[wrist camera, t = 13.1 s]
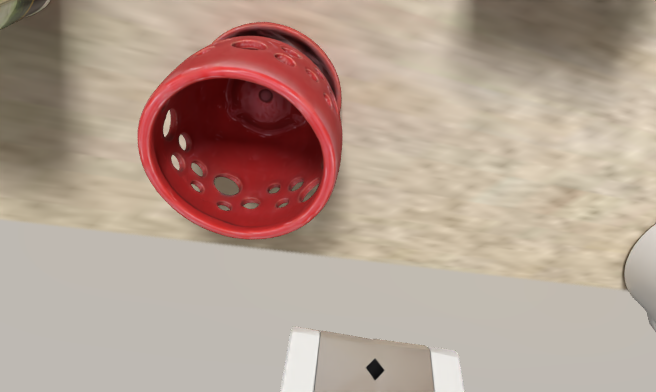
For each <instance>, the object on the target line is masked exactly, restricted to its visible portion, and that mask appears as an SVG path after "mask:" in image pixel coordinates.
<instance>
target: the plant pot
mask: <svg viewBox="0 0 656 392" xmlns="http://www.w3.org/2000/svg"><path fill="white" fill-rule="evenodd" d="M340 109H341V87H340V82H339V78H338V75H337V73H336V70H335V68H334V66H333V64H332V63H331V61H330V59H329V58H328V57H327V55H326V54H325V53H324V51H323V50H322V49H321V48H320V47H319V46H318V45H317V44H316V43H315V42H314V41H312V40H311V39H310V38H308V37H307V36H305V35H304V34H302V33H301V32H299V31H297V30H295V29H292V28H290V27H287V26H284V25H280V24H276V23H269V22H257V23H249V24H245V25H241V26H238V27H235V28H233V29H231V30H229V31H227V32H225V33H224V34H222V35H221V36H220V37H218V38H217V39H216V40H215V41H214V42H213V43H212V44H211V45H209V46H207V47H205V48H203V49H201V50H200V51H198V52H196V53H195V54H193V55H192V56H190V57H189V58H187V59H186V60H185V61H184V62H182V63H181V64H180V65H179V66H178V67H177V68H176V69H175V70H174V71H173V72H171V73H170V74H169V75H168V76H167V77H166V78H165V80H164V81H163V82H162V83H161V84H160V85H159V86H158V88H157V89H156V90H155V91H154V92H153V94H152V95H151V96H150V98H149V99H148V101H147V103H146V105H145V107H144V109H143V111H142V114H141V117H140V120H139V126H138V148H139V154H140V159H141V162H142V165H143V167H144V170H145V172H146V174H147V176H148V178H149V180H150V182H151V183H152V185H153V186H154V188H155V189H156V191H157V192H158V193H159V194H160V195H161V196H162V198H163V199H164V200H165V201H166V202H167V203H168V204H169V205H170V206H171V207H172V208H173V209H175V210H176V211H177V212H178V213H179V214H181V215H182V216H183V217H185V218H186V219H188V220H189V221H191V222H193V223H195V224H197V225H199V226H201V227H202V228H204V229H207V230H209V231H212V232H215V233H218V234H221V235H224V236H228V237H233V238H239V239H266V238H273V237H278V236H281V235H285V234H288V233H290V232H292V231H295V230H297V229H299V228H301V227H302V226H304V225H305V224H307V223H308V222H310V221H311V220H312V219H313V218H314V217H315V216H316V215H317V214H318V213H319V212H320V211H321V210H322V209H323V208H324V206H325V205H326V203H327V201H328V200H329V198H330V196H331V194H332V192H333V189H334V186H335V183H336V179H337V175H338V172H339V167H340V161H341V151H342V126H341V119H340ZM168 110H170V114H171V125H170V129H169V132H168V134H167V136H166V137H164V134H163V125H164V121H165V119H166V115H167V112H168ZM180 135H183V137H184V138H185V141H186V149H185V151H184V150H183V149H182V148H181V146H180V144H179V136H180ZM172 155H174V156H175V157H176V158H177V159H178V162H179V166H180V168H179V170H177V169H176V168H175V167H174V166H173V164H172V161H171V157H172ZM192 163H195V164H197V165H198V166H199V167H200V168H201V169H202V171H203V176H202V177H201V176H199V175H197V174H196V173H195V172H194V171H193V170H192V168H191V164H192ZM217 177H226V178H229V179H231V180H232V181H234V182H235V183H236V184H237V185H238V187H239V193H237V194H235V195H226V194H223V193H221V192H220V191H218V190H217V189H216V187H215V185H214V180H215V178H217ZM299 182H303V185H302V186H301V187H300V188H299V189H297V190H295V191H291V190H292V188H293V187H294V186H295V185H296V184H297V183H299ZM191 184H194V185H196V186H197V187H198V188H199V189H200V192H198V191H196V190H194V189H193V187H192V186H191ZM318 184H319V186H318V189H317V190H316V192H315V193H314V194H313V195H312V196H311V197H310V198H309V199H308V200H307V201H305V202H302V201H303V199H304V197H305V196H306V195H307V194H308V192H309V191H311V190H312V189H313V188H314V187H315V186H316V185H318ZM274 187H278V188H280V190H279V191H278V192H277V193H269V191H270V190H271V189H272V188H274ZM287 202H288V204H287V205H286V206H284V207H281V208H278V207H279V206H280V205H281V204H283V203H287ZM246 203H257V204H259V206H257V207H256V208H254V209H248V208H245V207H243V205H245V204H246ZM219 205H224V206H227V207H228V208H229V209H230V210H228V211H225V210H222V209H220V208H219V207H218V206H219Z"/></svg>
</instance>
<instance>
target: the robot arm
mask: <svg viewBox="0 0 656 392" xmlns="http://www.w3.org/2000/svg"><path fill="white" fill-rule="evenodd" d="M624 276H625V283H626V286H627V289H628V291H629V292H630V294H631V295H632V297H633V298H634V299H635V300H636V301H637V302H638V303H639V304H640V305H641V306H642V307H643V308H644V309H645V310H646V311H647V315H648V319H649V322H650V324H651V326H652V327H653V329H654V330H655V331H656V224H655V225H654V226H653V227H651V228H650V229H649V230H648V231H647V232H646V233H645V234H644V235H643V236H642V237H641V238H640V239H639V240H638V242H637V243H636V244H635V246H634V247H633V249H632V250H631V252H630V254H629V256H628V259H627V262H626V266H625V274H624ZM280 392H465V390H464V384H463V378H462V372H461V366H460V360H459V355H458V354H457V352H456V351H455V350H449V349H442V348H435V347H426V346H424V345H416V344H408V343H402V342H394V341H387V340H379V339H367V338H362V337H356V336H350V335H344V334H338V333H333V332H327V331H321V332H320V331H319V330H313V329H307V328H301V327H295V326H293V327H292V330H291V333H290V339H289V345H288V350H287V356H286V362H285V367H284V373H283V379H282V385H281V390H280Z"/></svg>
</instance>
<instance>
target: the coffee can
mask: <svg viewBox="0 0 656 392" xmlns="http://www.w3.org/2000/svg"><path fill="white" fill-rule="evenodd" d="M50 1H51V0H0V30H1V29H3V28H5V27H7V26H9V25H11V24H13V23H14V22H16V21H18V20H21V19H22V18H25V17H28V16H31V15H33V14H36V13H37V12H39V11H41V10H42V9H43V8H45V7H46V6H47V5H48V3H49V2H50Z"/></svg>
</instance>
